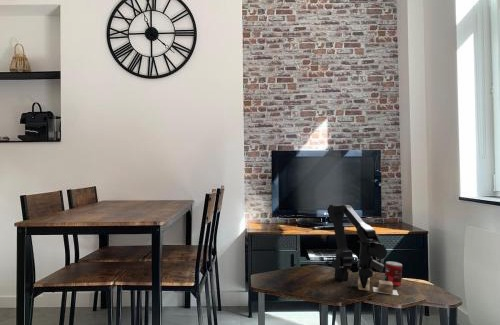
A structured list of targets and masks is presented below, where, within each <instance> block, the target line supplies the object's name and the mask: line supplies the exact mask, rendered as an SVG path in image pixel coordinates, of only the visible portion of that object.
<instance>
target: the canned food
mask: <svg viewBox="0 0 500 325" xmlns="http://www.w3.org/2000/svg"><path fill="white" fill-rule="evenodd" d="M384 267H385V271H384V281H390V282H392V283H393V287H394V286H396V287H399V286H401V285H402V278H403V264H402V263H400V262H398V261H390V260H389V261H385V266H384Z"/></svg>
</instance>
